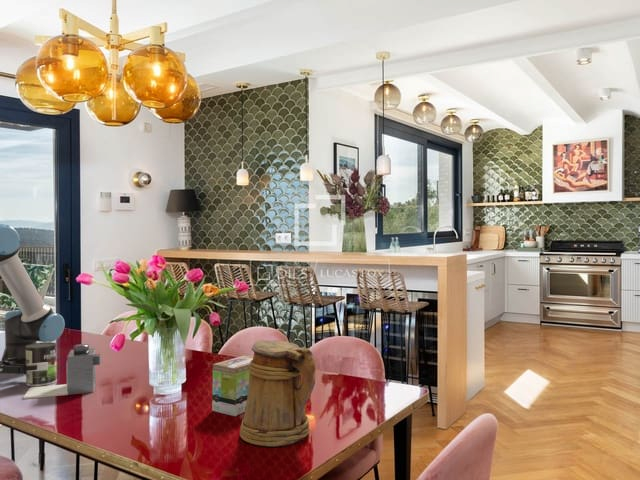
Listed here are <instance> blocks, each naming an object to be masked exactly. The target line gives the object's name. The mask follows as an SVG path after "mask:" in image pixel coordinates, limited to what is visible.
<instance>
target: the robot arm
mask: <svg viewBox="0 0 640 480" xmlns="http://www.w3.org/2000/svg"><path fill="white" fill-rule="evenodd" d="M20 238H21V237H20V234H19V233H18V232H17V230H16V229H15V228H14V227H12V226H11V225H9V224H7V223H0V277H1V279H2V280H3V282H4V285H5V286H6V287H7V289H8V290H9V292H10V295H11V296H12V298H13V300H14V301H15V303H16V305H17V307H18V308H19V309H17V310H11V311H7V312H6V313H5V315H4V321H3V322H4V339H5V341H4V342H5V344H4V345H5V348H4V349H3V353H2V356H1V359H0V374H15V375H17V374H18V375H19V374H21V375H22V374H23V375H26V374H27V372H30V371H42V370H48V362H43V363H30V364H27V365H26V349H25V346H27V345H30V344H34V343H38V342H40V343H44V342H52V343H53V342H54V341H56V340H59V338H60V337H61V336H62V334H63V332H64V330H65V325H66V324H65V323H66V322H65V319H64V317H63V316H62V315H61V314H60V313H55V312H54V310H53V309H52V307H51V305H50V304H48V303H45V302H44V301H43V299H42V296H41V295H40V293H39V291H38V289H37V287H36V286H35V284H34V282H33V281H32V278H31V276H30V275H29V274H28V272H27V270H26V268H25V266H24V264H23V262H22V260H21V259H20V257H19V253H20V252H21V250H20V248H19V247H20Z"/></svg>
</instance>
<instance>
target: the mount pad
mask: <svg viewBox="0 0 640 480" xmlns="http://www.w3.org/2000/svg"><path fill="white" fill-rule="evenodd" d="M57 396H68V391H67V383H65V384H55V385H53V384H51V385H45V386H30V387H29V388H28V389H27V392H25V394H24V396H23V400H28V399H36V398H47V397H57Z"/></svg>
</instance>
